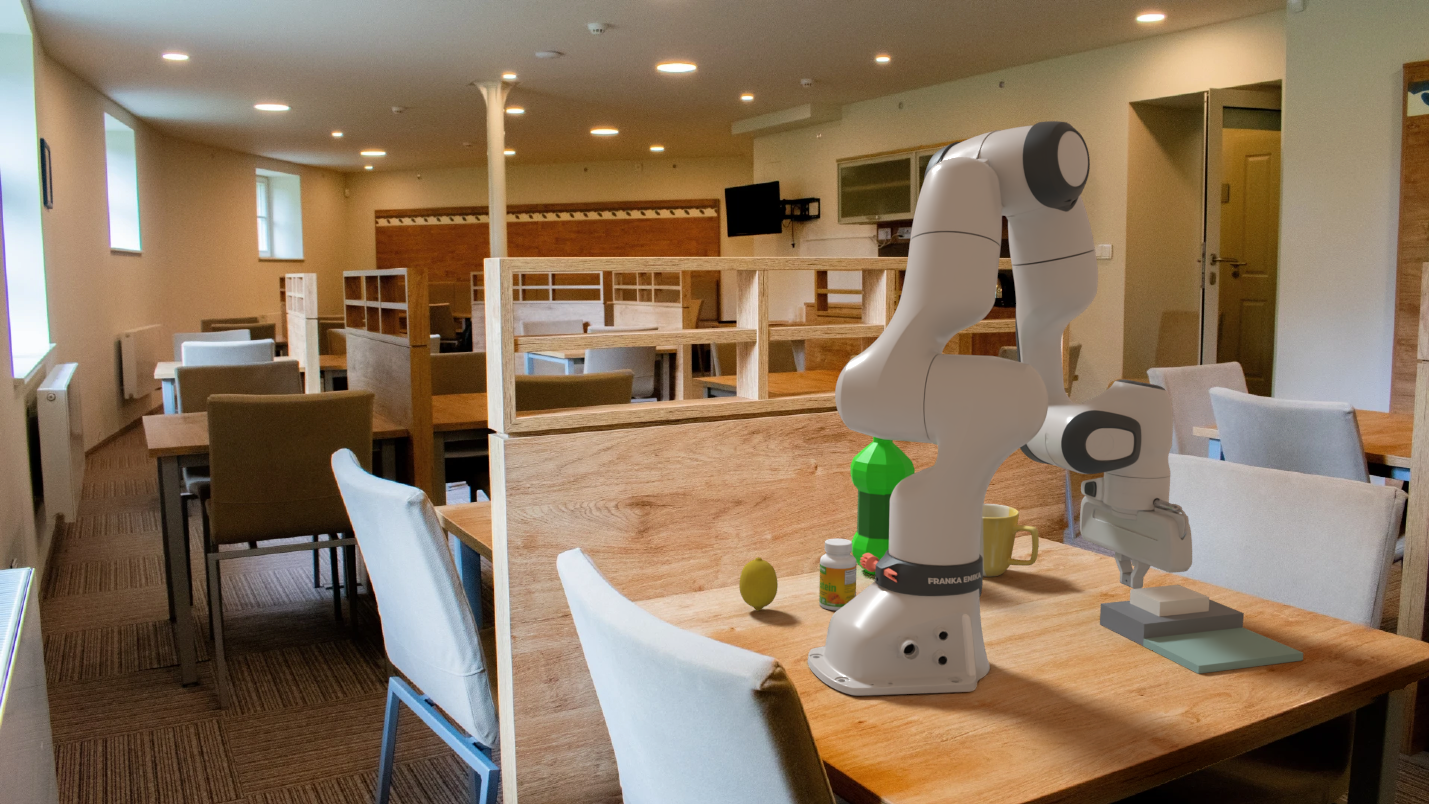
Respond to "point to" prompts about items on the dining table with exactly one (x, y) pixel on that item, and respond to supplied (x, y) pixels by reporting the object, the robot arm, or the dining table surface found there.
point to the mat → (1222, 650)
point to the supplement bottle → (837, 574)
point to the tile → (1169, 600)
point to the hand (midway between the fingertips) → (1131, 586)
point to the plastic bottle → (876, 494)
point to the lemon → (758, 583)
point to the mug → (1002, 539)
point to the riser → (1166, 621)
